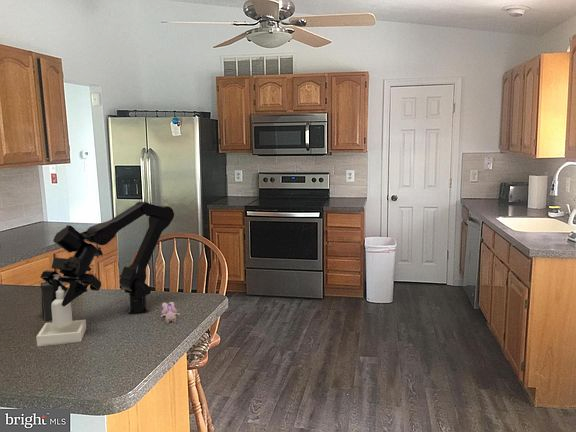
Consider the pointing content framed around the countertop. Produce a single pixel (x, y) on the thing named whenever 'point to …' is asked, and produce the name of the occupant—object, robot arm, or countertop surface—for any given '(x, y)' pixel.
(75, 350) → the countertop surface
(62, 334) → the tray
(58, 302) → the eye dropper bottle
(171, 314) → the pink creature figurine
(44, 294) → the phone stand
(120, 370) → the countertop surface
